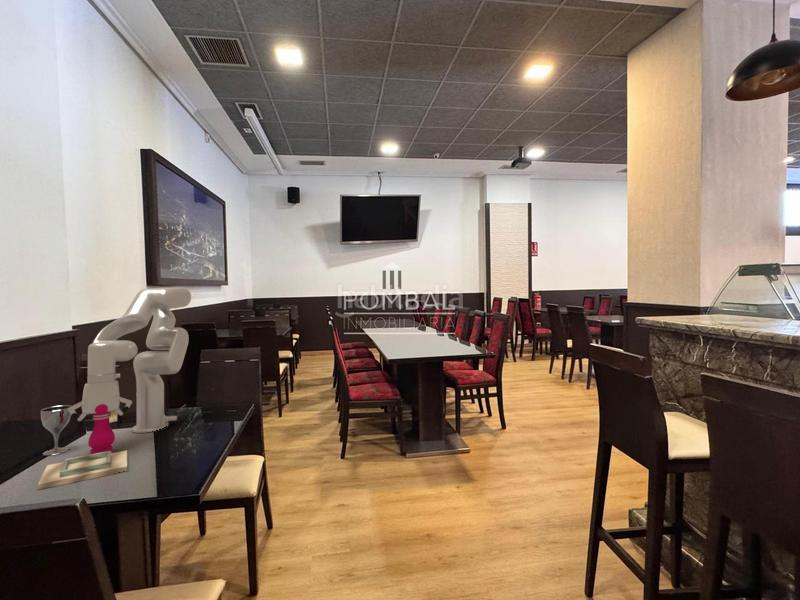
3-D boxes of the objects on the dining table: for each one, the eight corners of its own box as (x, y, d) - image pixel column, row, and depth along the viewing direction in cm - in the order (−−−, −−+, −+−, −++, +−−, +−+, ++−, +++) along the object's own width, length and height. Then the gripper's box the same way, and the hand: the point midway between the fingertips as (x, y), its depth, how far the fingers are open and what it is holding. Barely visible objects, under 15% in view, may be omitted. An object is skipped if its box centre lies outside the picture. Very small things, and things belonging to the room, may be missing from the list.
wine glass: (36, 457, 129) (37, 412, 129) (45, 449, 136) (45, 407, 136) (67, 453, 132) (67, 409, 132) (74, 445, 139) (74, 404, 140)
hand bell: (96, 420, 170) (96, 384, 170) (119, 417, 176) (119, 381, 176) (98, 425, 164) (98, 387, 164) (122, 420, 170) (122, 384, 170)
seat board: (127, 454, 130) (127, 445, 130) (127, 471, 117) (127, 461, 117) (47, 470, 118) (47, 460, 119) (37, 490, 105) (37, 479, 106)
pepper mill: (100, 458, 127) (100, 397, 128) (82, 456, 129) (82, 396, 129) (120, 450, 135) (120, 392, 135) (103, 448, 136) (103, 391, 136)
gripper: (132, 374, 140) (131, 422, 140) (69, 380, 130) (68, 431, 129) (132, 377, 134) (131, 427, 133) (67, 383, 124) (66, 437, 123)
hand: (100, 429), depth 131 cm, fingers open, 9 cm apart
